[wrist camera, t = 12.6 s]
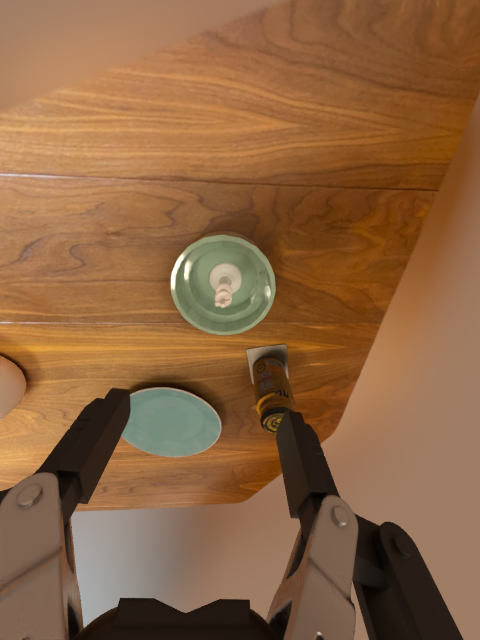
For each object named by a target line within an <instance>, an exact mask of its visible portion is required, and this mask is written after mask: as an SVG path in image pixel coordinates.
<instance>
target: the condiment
mask: <svg viewBox="0 0 480 640" xmlns="http://www.w3.org/2000/svg"><path fill="white" fill-rule="evenodd" d="M246 352H247V358H248V363H249V369H250V374H251V380H252V384H253V383H254V391H255V399H256V407H257V411H258V413H259V415H260V419H261V420H260V421H261V425H262V427H263V429H264V430H265V431H267V432H269V433H272V434H276V432H277V428H278V426H279V423H280V421H281V419H282V417H283V415H284V413H285V411H293V412H295V409H294V407H295V401H294V398H293V395H292V391H291V388H290V385H289V382H288V365H287V347H286V344H284V345H274V346H266V347H260V348H253V349H246Z"/></svg>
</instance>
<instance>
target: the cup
mask: <svg viewBox="0 0 480 640" xmlns="http://www.w3.org/2000/svg"><path fill="white" fill-rule="evenodd" d="M25 390H26V380H25V377H24V375H23V373H22V371H21V370H20V369H19V368H18V367H17V366H16V365H15V364H14V363H13V362H11V361H9V360H8V359H6V358H5V357H2V356H0V420H2V419H3V418H4V417H5V416H6V415H7V414H8V413H10V412H11V411H12V410H13V409H14V408H15V407H16V406H17V405H18V404H19V403H20V401H21V399H22V397H23V395H24V393H25Z"/></svg>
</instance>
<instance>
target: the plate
mask: <svg viewBox="0 0 480 640" xmlns="http://www.w3.org/2000/svg"><path fill="white" fill-rule="evenodd" d="M130 404H131V412H130V417H129V420H128V423H127V425H126V427H125V429H124V431H123V433H122V435H121V437H122V438H123V439H124V440H126V441H127V442H128V443H129V444H131V445H132V446H134V447H136V448H138V449H140V450H142V451H145V452H147V453H151V454H154V455H159V456H166V457H185V456H191V455H195V454H198V453H201V452H203V451H205V450H207V449H208V448H210V447H211V446H212V445H213V444H214V443H215V442H216V441H217V439H218V438H219V436H220V433H221V428H222V426H221V420H220V417H219V415H218V414H217V412H216V411H215V410H214V408H213V407H212V406H211V405H209V404H208V403H207V402H206V401H204V400H203V399H201V398H200V397H198V396H196V395H194V394H192V393H189V392H187V391H184V390H180V389H176V388H170V387H153V388H146V389H142V390H139V391H136V392H133V393H131V394H130Z"/></svg>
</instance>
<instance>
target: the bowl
mask: <svg viewBox="0 0 480 640" xmlns="http://www.w3.org/2000/svg"><path fill="white" fill-rule="evenodd" d="M221 262H230V263H232V264H234V265H236V266H237V267H238V268H239V270H240V271H241V274H242V283H241V286H240V288H239V289H238V290H237V291H236V292H235V293H233V294H232V301H231V304H229V305H228V306H225V307H224V308H221V306H217V307H216V305H215V295H216V291H214V290H213V288H212V287H211V285H210V282H209V274H210V271H211V269H212V268H213V267H214V266H215V265H216V264H218V263H221ZM275 292H276V288H275V276H274V273H273V270H272V268H271V265H270V263H269V261H268V259H267V257H266V256H265V254H264V253H263V252H262V250H261V249H260V248H259V247H258V246H257V245H256V244H255V242H254V241H252V240H251V239H249V238H247V237H246V236H244V235H242V234H240V233H236V232H231V231H226V230H223V231H216V232H210V233H207V234H206V235H204V236H202V237H200V238H198V239H196V240H195V241H194V242H193V243H191V244H190V245H189V246H188V247H187V248H186V249H185V250H184V251H183V253H182V254H181V255H180V256H179V257H178V258H177V260H176V263H175V265H174V268H173V270H172V273H171V294H172V297H173V300H174V303H175V306H176V307H177V309H178V310H179V312H180V313H181V315H182V316H183V317H184V319H186V320H187V321H188V322H189V323H191V324H192V325H193V326H194V327H196V328H198V329H200V330H203V331H205V332H207V333H210V334H217V335H232V334H239V333H241V332H244V331H246V330H248V329H251V328H253V327H254V326H255V325H256V324H258V323H259V322H260V321H261V320H262V319H263V318H264V317H265V316H266V314H267V313H268V311H269V310H270V308H271V306H272V303H273V300H274V296H275Z"/></svg>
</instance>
